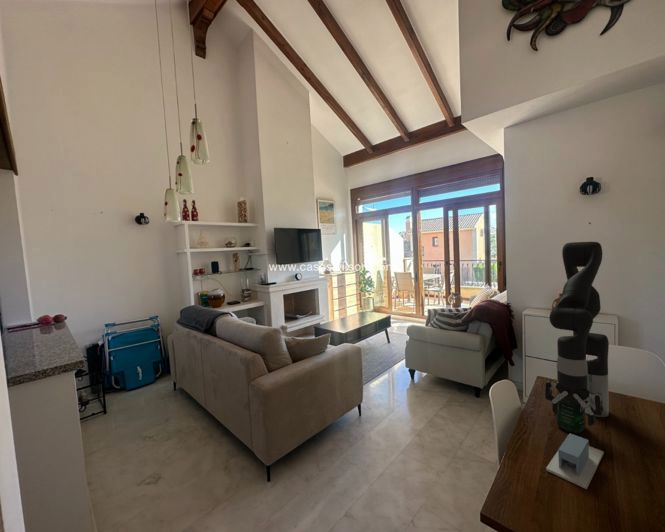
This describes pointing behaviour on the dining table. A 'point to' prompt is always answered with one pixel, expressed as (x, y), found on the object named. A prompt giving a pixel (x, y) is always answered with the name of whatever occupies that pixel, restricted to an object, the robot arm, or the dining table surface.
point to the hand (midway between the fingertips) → (573, 419)
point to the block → (574, 452)
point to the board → (570, 468)
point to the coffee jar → (571, 416)
